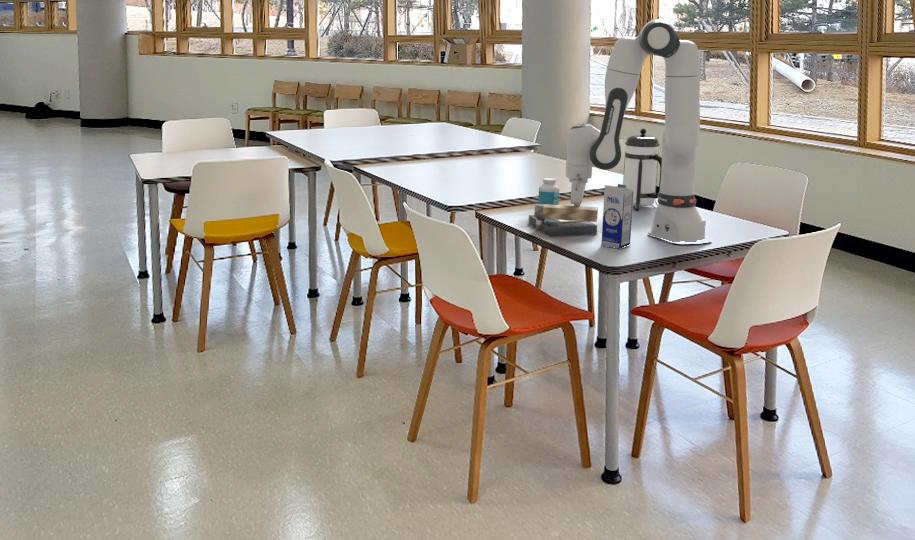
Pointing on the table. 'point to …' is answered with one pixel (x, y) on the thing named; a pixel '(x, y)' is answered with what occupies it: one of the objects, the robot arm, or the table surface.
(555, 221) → the panel
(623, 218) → the milk carton
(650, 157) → the coffee press
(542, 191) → the pill bottle
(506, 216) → the table surface
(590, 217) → the tan bar
